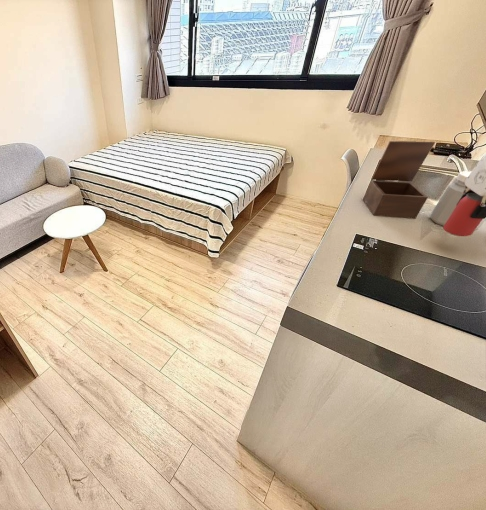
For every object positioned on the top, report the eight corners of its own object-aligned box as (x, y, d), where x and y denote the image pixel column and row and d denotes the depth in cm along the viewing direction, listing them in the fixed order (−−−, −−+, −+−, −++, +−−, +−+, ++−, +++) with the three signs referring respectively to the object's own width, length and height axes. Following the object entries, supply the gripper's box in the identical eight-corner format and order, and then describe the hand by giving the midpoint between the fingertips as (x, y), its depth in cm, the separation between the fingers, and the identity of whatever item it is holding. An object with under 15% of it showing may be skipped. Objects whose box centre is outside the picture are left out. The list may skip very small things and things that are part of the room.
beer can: (449, 236, 85) (473, 201, 78) (437, 226, 90) (458, 191, 83) (476, 238, 84) (503, 202, 77) (462, 227, 89) (486, 192, 82)
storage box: (415, 218, 106) (428, 197, 101) (373, 215, 110) (383, 194, 104) (400, 202, 117) (410, 182, 112) (362, 199, 121) (370, 180, 116)
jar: (425, 222, 104) (454, 175, 93) (432, 213, 108) (459, 167, 98) (461, 231, 97) (496, 182, 87) (466, 221, 102) (500, 174, 92)
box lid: (435, 142, 101) (429, 137, 105) (390, 141, 105) (385, 136, 108) (411, 181, 111) (406, 175, 115) (371, 179, 115) (368, 173, 119)
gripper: (473, 142, 80) (439, 199, 91) (515, 162, 67) (470, 225, 77) (507, 142, 78) (468, 200, 88) (557, 162, 65) (505, 227, 75)
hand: (469, 211), depth 83 cm, fingers closed on beer can, 6 cm apart
